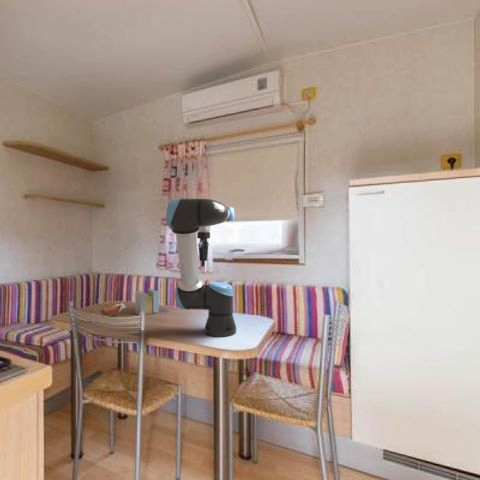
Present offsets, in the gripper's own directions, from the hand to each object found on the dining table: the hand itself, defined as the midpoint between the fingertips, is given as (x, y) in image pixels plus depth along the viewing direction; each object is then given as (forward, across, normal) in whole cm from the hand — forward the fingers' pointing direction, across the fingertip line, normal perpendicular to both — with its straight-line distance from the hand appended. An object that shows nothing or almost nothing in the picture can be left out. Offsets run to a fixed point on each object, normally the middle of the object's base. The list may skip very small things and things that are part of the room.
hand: (203, 271), depth 172 cm
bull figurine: (+25, +22, -44) cm, 55 cm away
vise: (+24, +7, -29) cm, 39 cm away
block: (+23, +9, -31) cm, 40 cm away
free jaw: (+23, +7, -29) cm, 37 cm away
